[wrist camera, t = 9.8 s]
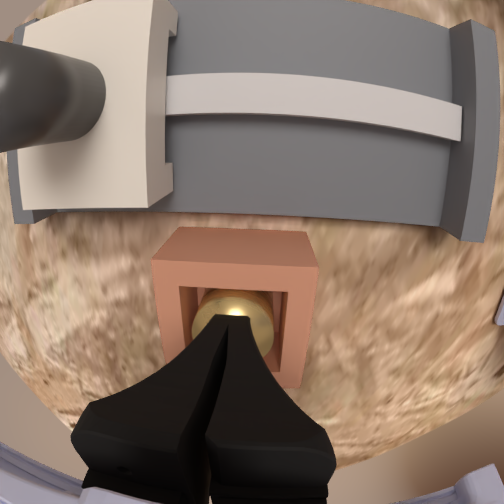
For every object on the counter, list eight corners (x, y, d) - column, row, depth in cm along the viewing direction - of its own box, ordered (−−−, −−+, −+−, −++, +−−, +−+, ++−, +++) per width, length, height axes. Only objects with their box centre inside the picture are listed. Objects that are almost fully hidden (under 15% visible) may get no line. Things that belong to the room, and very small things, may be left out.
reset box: (294, 336, 17) (300, 387, 13) (186, 330, 17) (168, 379, 13) (305, 231, 14) (319, 267, 11) (179, 226, 15) (150, 259, 11)
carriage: (173, 190, 13) (77, 259, 6) (61, 193, 13) (-53, 248, 6) (178, 12, 10) (97, -76, 3) (63, 38, 10) (-49, 11, 3)
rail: (452, 223, 14) (483, 242, 11) (48, 207, 14) (14, 223, 12) (462, 41, 10) (494, 31, 7) (48, 37, 11) (15, 28, 8)
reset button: (270, 327, 15) (271, 368, 12) (206, 323, 15) (194, 363, 12) (274, 268, 14) (276, 303, 11) (203, 265, 14) (188, 298, 11)
